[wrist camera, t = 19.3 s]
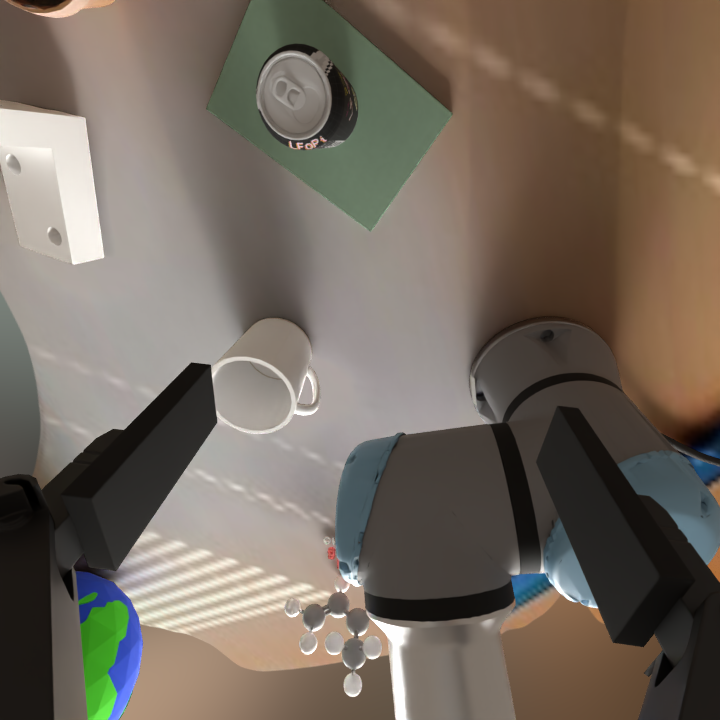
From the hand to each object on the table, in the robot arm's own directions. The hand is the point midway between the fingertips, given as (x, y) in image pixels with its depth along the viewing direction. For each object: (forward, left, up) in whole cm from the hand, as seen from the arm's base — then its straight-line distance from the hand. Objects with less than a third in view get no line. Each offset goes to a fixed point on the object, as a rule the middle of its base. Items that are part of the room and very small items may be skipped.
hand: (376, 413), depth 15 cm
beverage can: (+12, -6, -28) cm, 31 cm away
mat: (+12, -6, -28) cm, 31 cm away
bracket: (+31, +15, -28) cm, 44 cm away
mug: (+3, +17, -28) cm, 33 cm away
